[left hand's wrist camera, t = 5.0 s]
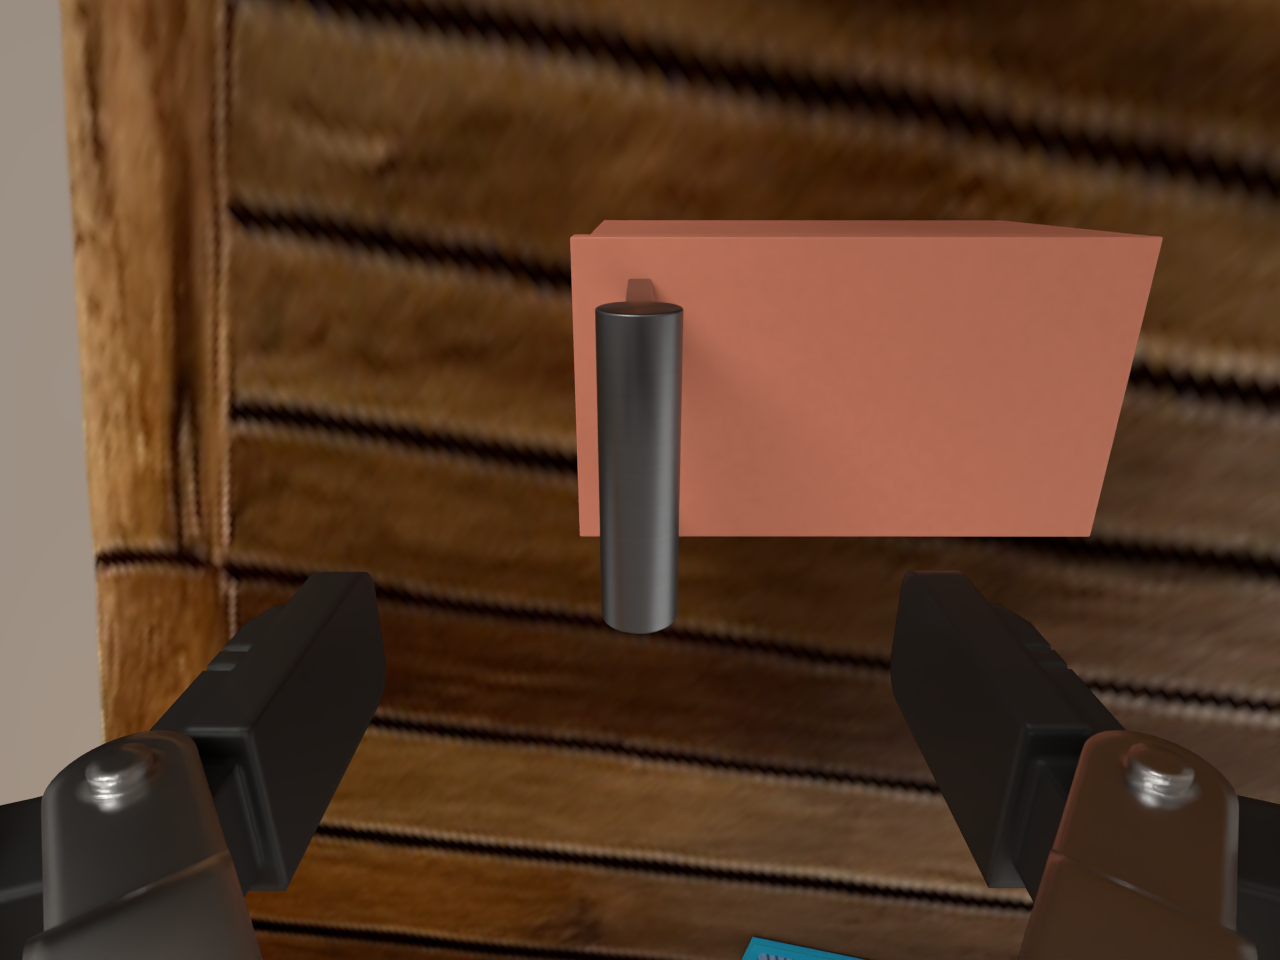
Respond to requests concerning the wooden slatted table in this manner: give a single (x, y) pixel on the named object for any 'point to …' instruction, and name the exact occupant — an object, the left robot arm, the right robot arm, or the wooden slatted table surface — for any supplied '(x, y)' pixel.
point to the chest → (834, 227)
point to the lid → (842, 390)
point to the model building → (787, 952)
